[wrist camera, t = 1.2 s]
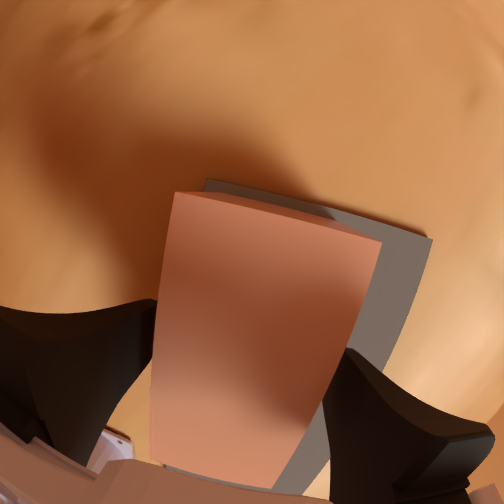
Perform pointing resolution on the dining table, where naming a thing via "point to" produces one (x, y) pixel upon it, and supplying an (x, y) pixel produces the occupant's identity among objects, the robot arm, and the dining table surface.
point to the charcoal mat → (367, 324)
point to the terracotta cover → (249, 331)
